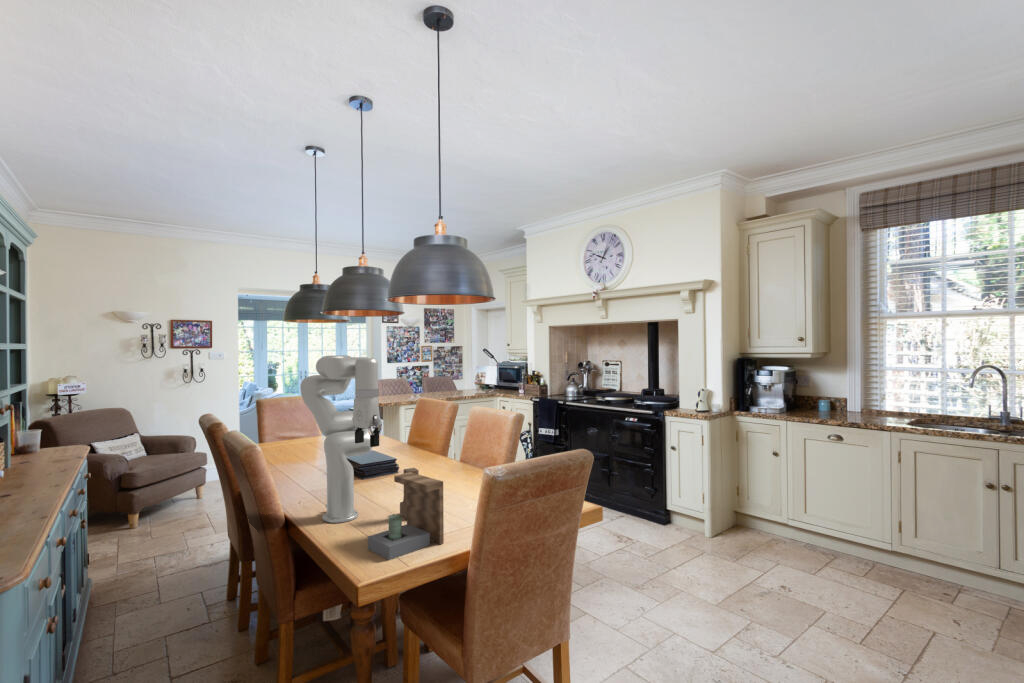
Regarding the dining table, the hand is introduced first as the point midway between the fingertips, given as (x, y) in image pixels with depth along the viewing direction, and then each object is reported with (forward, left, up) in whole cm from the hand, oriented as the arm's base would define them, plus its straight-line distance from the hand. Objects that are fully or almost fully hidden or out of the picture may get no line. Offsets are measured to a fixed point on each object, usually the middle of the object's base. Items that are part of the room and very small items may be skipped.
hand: (366, 444), depth 173 cm
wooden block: (-4, +20, -31) cm, 37 cm away
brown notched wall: (+17, +9, -30) cm, 36 cm away
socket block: (+18, +1, -30) cm, 35 cm away
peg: (+18, -1, -30) cm, 35 cm away
